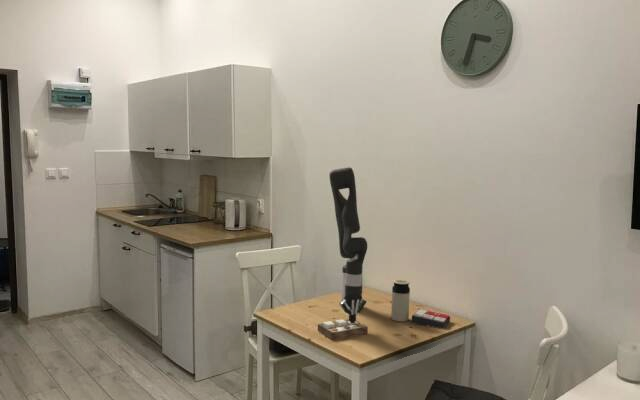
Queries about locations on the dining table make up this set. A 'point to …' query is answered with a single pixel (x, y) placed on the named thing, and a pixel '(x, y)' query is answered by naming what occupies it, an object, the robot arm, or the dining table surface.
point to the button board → (343, 330)
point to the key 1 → (328, 325)
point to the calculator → (430, 318)
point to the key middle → (340, 323)
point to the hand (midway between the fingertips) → (352, 322)
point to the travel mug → (400, 300)
